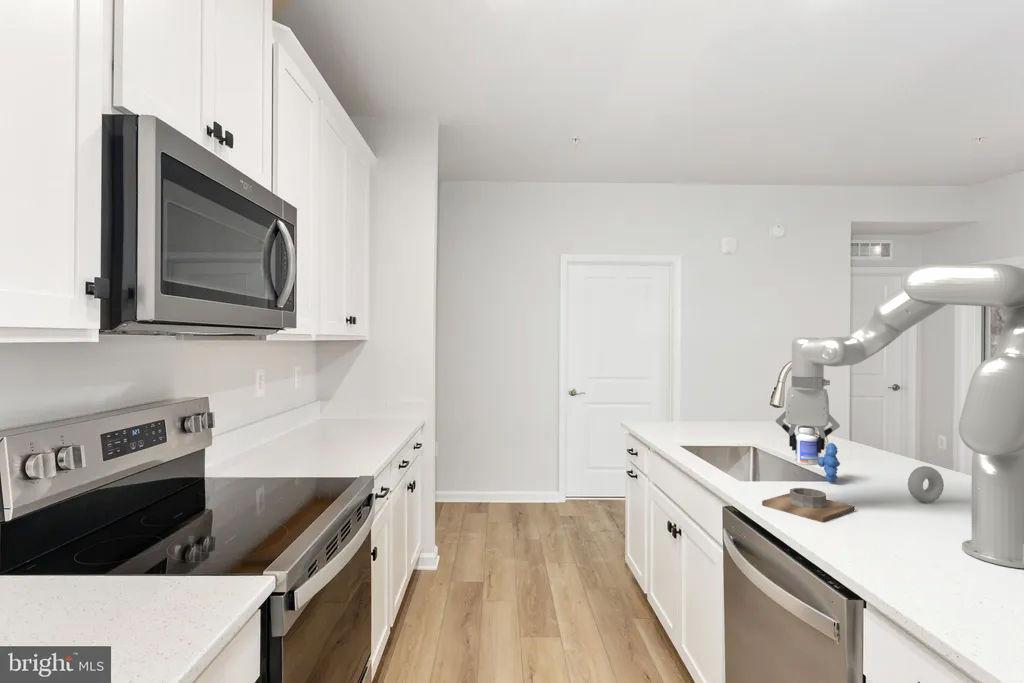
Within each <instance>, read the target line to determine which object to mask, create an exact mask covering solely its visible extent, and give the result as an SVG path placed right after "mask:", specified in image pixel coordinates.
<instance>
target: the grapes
mask: <svg viewBox="0 0 1024 683" xmlns="http://www.w3.org/2000/svg"><path fill="white" fill-rule="evenodd" d="M824 449H825V450H824V452H825V454H824V456H820V457H819V456H818V464H817V465H818V466H819V467H820V468H823V470H824V472H825V476H824V478H825V480H827V482H829V483H831V484H833V483H835V482H836V481H837V480H838V476H837V473H838V467H839V466H840V465H841V462H840V460H839V459H838V458H837V454H838V452H839V451H838V446H837V445H835V443H833V442H830V443H828V444H827V445H826V446H824Z"/></svg>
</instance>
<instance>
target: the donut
mask: <svg viewBox="0 0 1024 683" xmlns="http://www.w3.org/2000/svg"><path fill="white" fill-rule="evenodd" d="M907 479H908V480H907V488H908V491H909V493H910V495H911V496H912V497H913V498H914V499H915V500H917V501H919V502H921V503H926V502H929V503H933V502H935V501H937V500H938V499H939V498H940V497H941V495H942V494H943V491H944V487H945V486H944V479H943V476H942V474H941V473H940V472H939V471H938V470H937V469H935V468H934V467H932V466H926V465H923V466H919V467H916V468H915V469H914V470H913V471H912V472H910V475H909V476H908V478H907ZM926 480H927V482H928V483H927V484H928V485H927V487H926V489H924V482H925V481H926Z"/></svg>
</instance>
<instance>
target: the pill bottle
mask: <svg viewBox="0 0 1024 683" xmlns="http://www.w3.org/2000/svg"><path fill="white" fill-rule="evenodd" d="M797 432H798V434H795V435H796V436H795V450H794V451H795V455H794V457H795V458H794V459H795V463H796V464H799V465H803V466H817V465H818V458H819V453H818V437H819V436H817V435H815V434H816V427H810V426H798V427H797Z"/></svg>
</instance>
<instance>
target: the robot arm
mask: <svg viewBox="0 0 1024 683" xmlns="http://www.w3.org/2000/svg"><path fill="white" fill-rule="evenodd" d="M948 305H949V306H950V305H951V306H952V305H953V306H972V307H974V306H976V307H989V308H1001V309H1004V310H1005V312H1006V319H1005V321H1004V323H1003V326H1002V328H1001V332H1000V336H999V340H998V342H997V345H996V346H997V347H996V349H995V352H994V355H993V356H992V357H989V358H987V359H985V360H983V361H982V362H981V363H980V364H978V366H977V367H976V369H975V370H974V372H973V374H972V377H971V380H970V382H969V386H968V389H967V392H966V397H965V401H964V403H963V408H962V411H961V414H960V417H959V422H958V435H959V437H960V439H961V441H962V442H963V444H964V445H965V446H966V447H967V448H968V449H969V450H971V451H972V460H971V539H967V540H964V541H963V542H962V543H961V549H962V551H964V552H965V553H966V554H968V555H969V556H971V557H973V558H976V559H978V560H982V561H984V562H987V563H990V564H995V565H999V566H1004V567H1009V568H1015V569H1024V268H1023V267H1020V266H1014V265H1009V264H1003V263H925V264H921V265H918V266H916V267H915V268H913V269H911V270H910V271H909V272H908V273H907V274H906V276H905V278H904V280H903V286H901V287H900V288H898V289H897V290H896V291H894V292H893V293H891V294H890V295H888V296H886V297H885V298H883V299H882V300H881V301H879V302H878V303H876V305H875V306H874V309H873V315H872V317H870V319H869V320H868V321H867V322H866V323H864V324H863V325H862V326H860V327H859V328H857V329H856V330H855V331H853V332H851V333H850V334H848V335H847V336H832V337H822V338H820V337H796V338H794V339H793V340H792V341H791V342H792V343H791V385H790V386H791V387H788V390H787V393H786V401H785V403H786V404H785V411H784V412H783V413H781V414H780V416H778V417H777V419H775V423H777V425H778V426H780V427H781V428H782V430H784V431H785V432H786V433H787V434H788V436H789V438H788V440H789V443H788V444H789V447H791V451H793V452H794V451H795V436H796V435H797V434H796V432H795V430H796V428H797V426H798V427H799V426H810V427H814V428H817V431H818V436H817V437H818V454H822V450H823V451H825V438H826V437H828V436H830V434H832V433H834V432H835V431H836V430H838V429H839V428H840V427H841V426H840V425H841V424H839V422H838V421H837V420H836V419H835V418H834V417H833V416H832V415H831V413H830V403H829V402H830V401H829V394H828V393H829V392H828V390H827V389H826V388H824V387H825V386H830V385H831V380H829V379H826V378H824V375H825V374H824V373H825V372H824V371H825V366H826V367H836V368H837V367H844V366H845V367H846V366H848V367H849V366H854V365H858V364H860V363H863V361H865V360H867V359H869V358H871V357H872V356H875V354H877V353H878V352H880V351H882V350H883V349H885V348H886V347H887V346H889V345H890V344H891V343H893V341H896V339H897V338H899V337H900V336H901V335H902V334H904V333H905V332H906V331H908V329H910V328H912V327H914V326H916V325H917V324H919V323H920V322H922V321H923V320H925V319H926V318H928V317H929V316H930V317H931V315H933V314H935V313H936V312H938V311H939V310H941V309H942V308H944V307H946V306H948ZM784 419H785V422H786V423H785V422H784ZM829 423H830V424H831V426H829V427H827V426H828V425H829ZM789 425H790V426H789ZM826 427H827V428H826ZM825 428H826V429H825Z"/></svg>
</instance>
